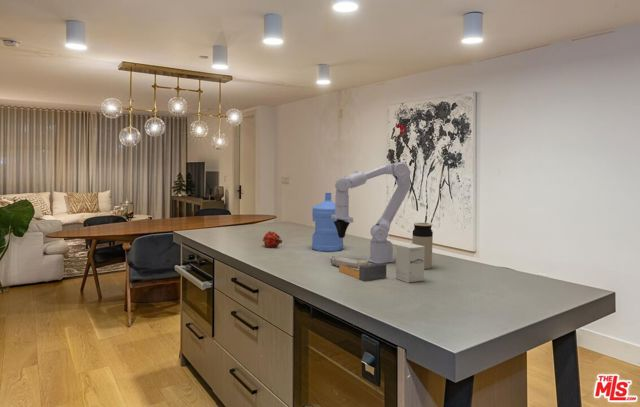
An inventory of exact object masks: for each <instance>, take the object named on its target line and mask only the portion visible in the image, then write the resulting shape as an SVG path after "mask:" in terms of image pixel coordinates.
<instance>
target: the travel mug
mask: <svg viewBox="0 0 640 407" xmlns="http://www.w3.org/2000/svg"><path fill="white" fill-rule="evenodd" d="M413 226H414V229H413V230H412V239H411V241H412V243H411V244H416V245H420V246H425V254H424V270H429V269H432V267H433V234H434V232H433V230H432V226H433V224H432V223H429V222H414V223H413Z"/></svg>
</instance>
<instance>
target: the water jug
mask: <svg viewBox="0 0 640 407" xmlns="http://www.w3.org/2000/svg"><path fill="white" fill-rule="evenodd" d="M311 213H312V222H314V223H315V224H314V226H315V228H314V233H312V237H311V238H312V241H311V242H312V244H311V248H312V250H314V251H319V252H327V253H328V252H330V253H331V252H339V251H342V250H343V249H344V238H339V236H338V232H337V228H336V226H335V224H334V221H337V220H335V219H331V215H335V201H332V193H331V192H325V193H324V201H323V202H321V203H318V204H316V205H315V206H313V207H312V212H311ZM342 220H343V219H342Z"/></svg>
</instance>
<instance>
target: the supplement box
mask: <svg viewBox="0 0 640 407" xmlns="http://www.w3.org/2000/svg"><path fill="white" fill-rule="evenodd" d="M424 254H425V246H420V245H416V244H412V243H404V244H396V256H395V257H396V261H395V279H397V280H400V281H401V282H405V283H409V284H410V283H414V282H424V280H425V269H424Z"/></svg>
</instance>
